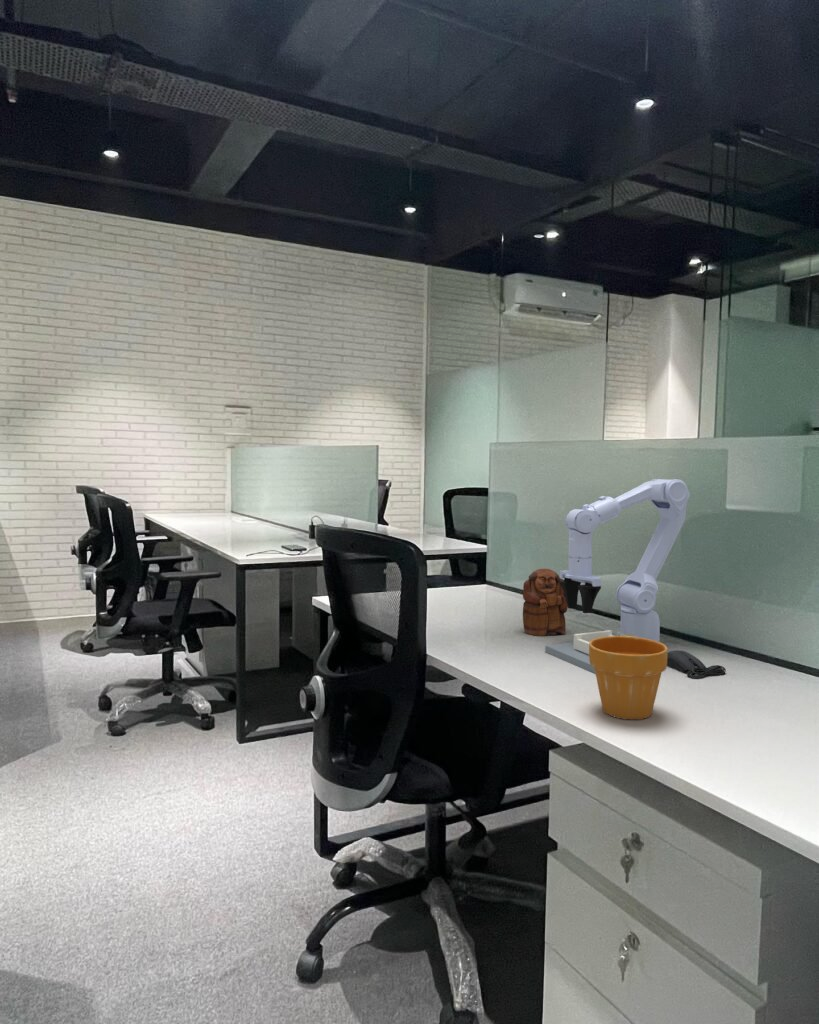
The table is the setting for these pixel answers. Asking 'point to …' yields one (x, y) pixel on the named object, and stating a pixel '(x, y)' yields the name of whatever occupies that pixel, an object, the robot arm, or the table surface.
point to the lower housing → (588, 639)
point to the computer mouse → (691, 665)
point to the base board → (570, 655)
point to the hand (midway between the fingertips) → (579, 610)
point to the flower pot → (627, 674)
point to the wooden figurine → (544, 604)
